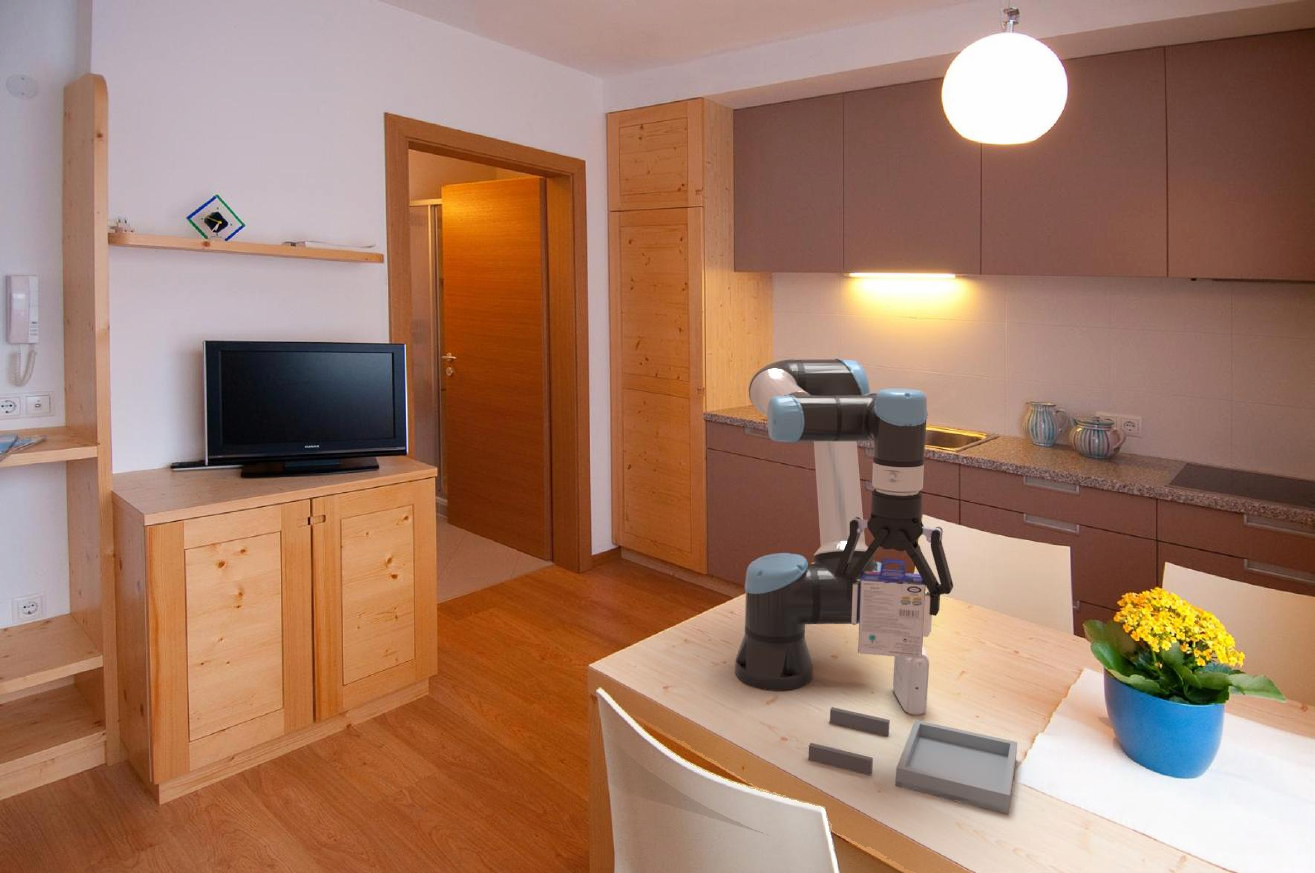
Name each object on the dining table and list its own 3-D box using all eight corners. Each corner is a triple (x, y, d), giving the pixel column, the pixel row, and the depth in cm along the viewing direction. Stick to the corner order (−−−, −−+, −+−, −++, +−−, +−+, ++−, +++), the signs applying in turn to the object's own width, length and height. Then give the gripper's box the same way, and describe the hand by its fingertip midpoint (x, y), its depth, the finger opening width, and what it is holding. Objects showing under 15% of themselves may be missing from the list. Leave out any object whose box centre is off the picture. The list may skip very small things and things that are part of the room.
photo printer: (929, 715, 151) (933, 650, 149) (904, 715, 151) (908, 650, 149) (912, 688, 161) (916, 626, 159) (890, 688, 161) (893, 626, 159)
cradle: (808, 759, 137) (808, 745, 136) (831, 720, 149) (831, 706, 149) (870, 775, 132) (871, 760, 132) (889, 733, 145) (889, 719, 144)
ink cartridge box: (921, 646, 136) (925, 559, 134) (923, 660, 131) (928, 570, 128) (857, 640, 138) (861, 555, 136) (857, 654, 133) (861, 565, 131)
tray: (895, 785, 130) (896, 767, 129) (914, 735, 144) (915, 719, 143) (1008, 813, 123) (1009, 795, 122) (1016, 758, 137) (1017, 741, 136)
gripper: (817, 487, 132) (813, 622, 136) (971, 503, 122) (963, 649, 125) (831, 478, 139) (827, 607, 142) (979, 493, 128) (970, 632, 132)
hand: (890, 627), depth 134 cm, fingers closed on ink cartridge box, 10 cm apart
